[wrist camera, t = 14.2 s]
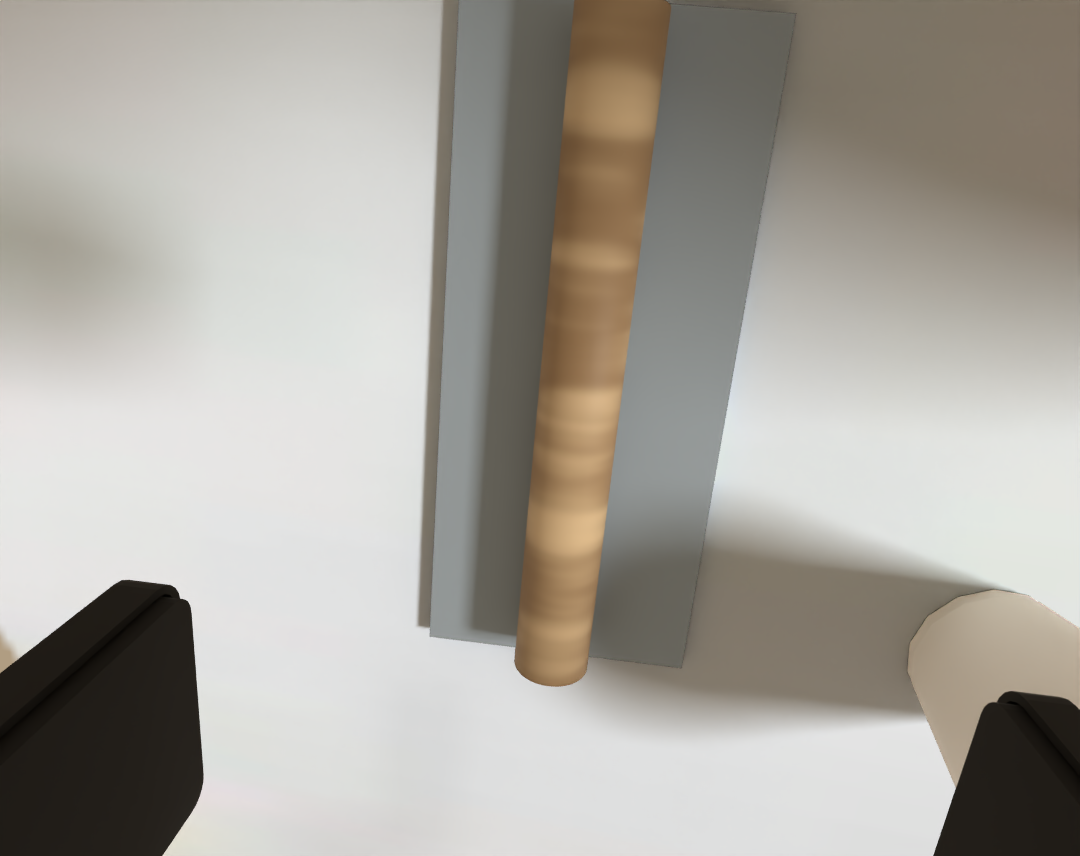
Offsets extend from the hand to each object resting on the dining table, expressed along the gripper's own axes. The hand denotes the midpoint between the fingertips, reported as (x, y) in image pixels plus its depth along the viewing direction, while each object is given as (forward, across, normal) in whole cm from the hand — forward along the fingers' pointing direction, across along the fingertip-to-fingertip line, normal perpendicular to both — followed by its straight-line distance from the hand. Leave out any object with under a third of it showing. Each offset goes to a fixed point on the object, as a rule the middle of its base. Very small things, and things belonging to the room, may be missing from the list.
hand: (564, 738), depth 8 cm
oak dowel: (+20, 0, 0) cm, 20 cm away
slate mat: (+20, 0, 0) cm, 20 cm away
